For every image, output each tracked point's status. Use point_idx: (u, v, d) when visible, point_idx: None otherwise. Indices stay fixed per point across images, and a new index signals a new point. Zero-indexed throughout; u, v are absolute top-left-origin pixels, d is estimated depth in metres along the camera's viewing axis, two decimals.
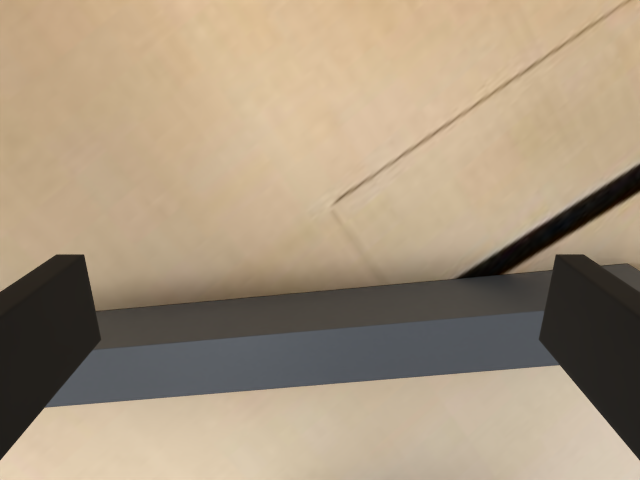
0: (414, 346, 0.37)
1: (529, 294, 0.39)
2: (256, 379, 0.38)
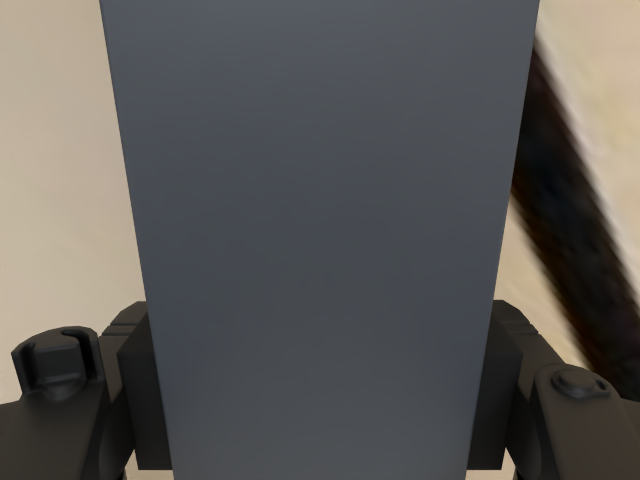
0: None
1: None
2: None
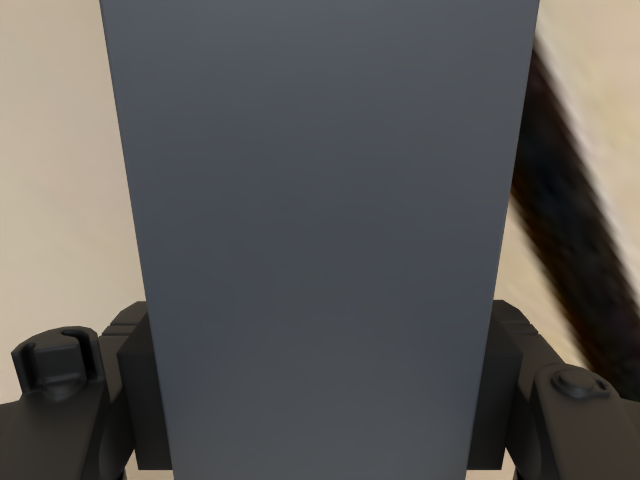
0: None
1: None
2: None
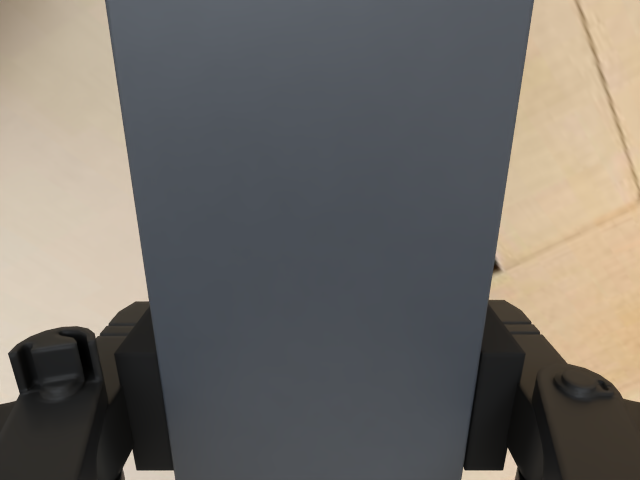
0: None
1: None
2: None
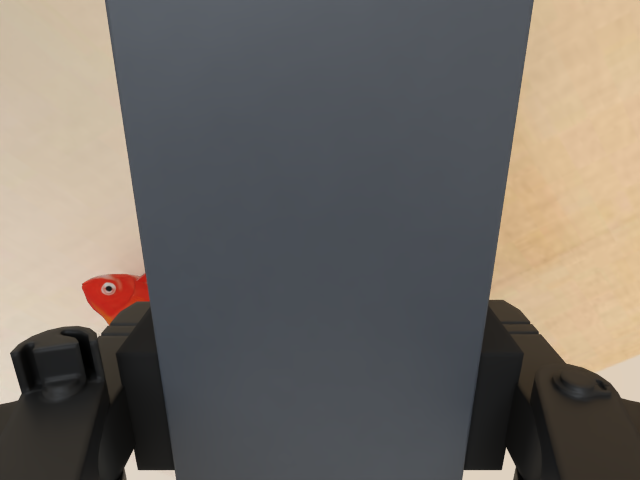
0: None
1: None
2: None
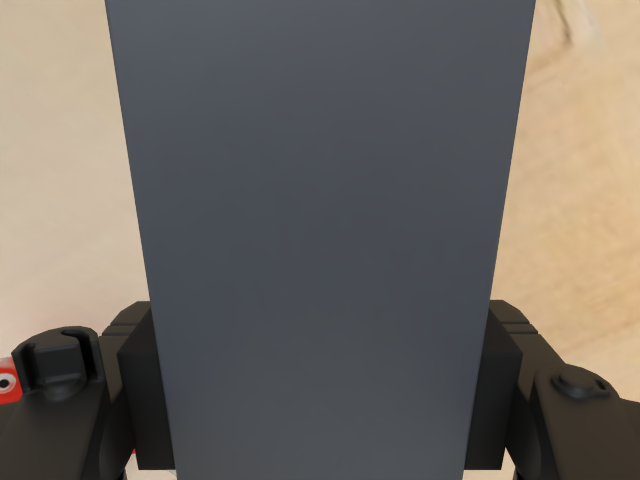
0: None
1: None
2: None
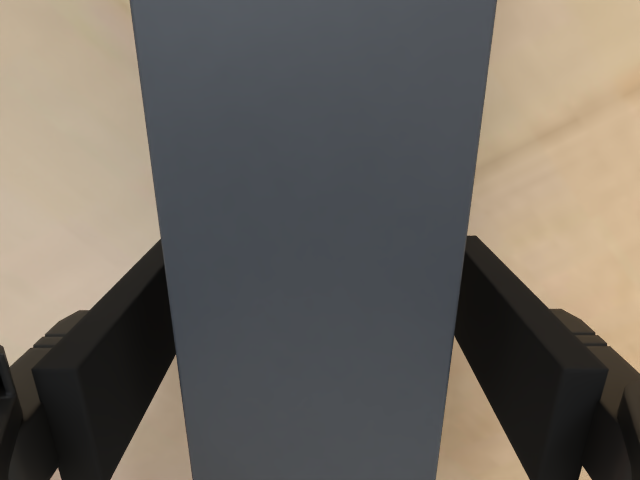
0: None
1: None
2: None
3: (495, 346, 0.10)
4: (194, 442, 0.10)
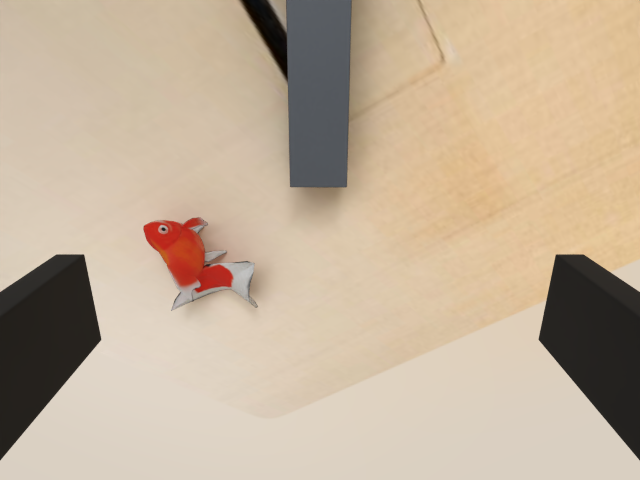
0: None
1: None
2: None
3: None
4: (291, 161, 0.42)
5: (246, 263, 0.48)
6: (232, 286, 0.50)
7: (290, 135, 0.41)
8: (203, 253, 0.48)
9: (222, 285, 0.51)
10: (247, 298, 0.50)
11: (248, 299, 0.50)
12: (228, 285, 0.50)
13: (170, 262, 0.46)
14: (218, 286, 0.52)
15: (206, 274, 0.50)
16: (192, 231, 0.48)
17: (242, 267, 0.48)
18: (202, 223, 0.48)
